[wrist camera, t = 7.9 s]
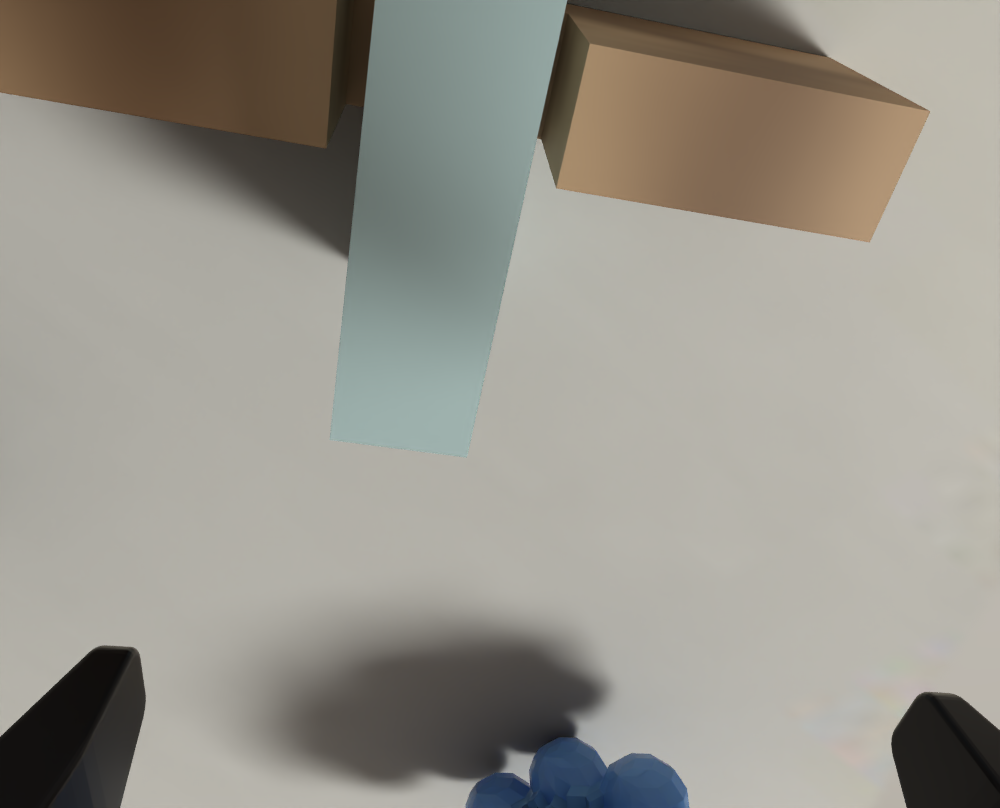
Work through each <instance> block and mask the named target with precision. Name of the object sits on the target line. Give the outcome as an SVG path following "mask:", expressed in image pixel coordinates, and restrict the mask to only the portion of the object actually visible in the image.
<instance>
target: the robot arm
mask: <svg viewBox="0 0 1000 808" xmlns="http://www.w3.org/2000/svg"><path fill="white" fill-rule="evenodd" d="M145 703H146V695H145V687H144V680H143V673H142V666H141V659H140V655H139V652H138V651H137V649H135V648H133V647H123V646H99V647H97V648H95V649H93V650H92V651H90V652H89V653H88V654H87V655H86V656H85V657H84V658H83V659H82V660H81V661H80V662H79V663H78V664H77V665H75V666H74V667H73V668H72V669H71V670H70V671H69V672H68V673H67V674H66V675H65V676H64V677H63V678H62V679H61V680H60V681H59V682H58V683H57V684H55V685H54V686H53V687H52V688H51V689H50V690H49V691H48V692H47V693H46V694H45V695H44V696H43V697H42V698H41V699H40V700H39V701H38V702H36V703H35V704H34V705H33V706H32V707H31V708H30V709H29V710H28V711H27V712H26V713H25V714H24V715H23V716H22V717H21V718H20V719H19V720H18V721H16V722H15V723H14V724H13V725H12V726H11V727H10V728H9V729H8V730H7V731H6V732H5V733H4V734H3V735H2V736H1V737H0V808H120V806H121V802H122V798H123V794H124V790H125V786H126V782H127V778H128V775H129V771H130V767H131V763H132V759H133V755H134V751H135V747H136V744H137V740H138V736H139V732H140V728H141V724H142V720H143V716H144V711H145ZM891 745H892V753H893V758H894V761H895V765H896V769H897V773H898V777H899V780H900V784H901V788H902V792H903V795H904V799H905V803H906V807H907V808H1000V730H999V729H998V728H996V727H995V726H994V725H993V724H992V723H991V722H990V721H988V720H987V719H986V718H985V717H984V716H982V715H981V714H980V713H979V712H978V711H977V710H975V709H974V708H973V707H972V706H971V705H970V704H969V703H967V702H966V701H965V700H963V699H962V698H961V697H959V696H957V695H955V694H951V693H938V692H924V693H921V694H919V695H918V696H917V697H916V698H915V700H914V701H913V703H912V704H911V706H910V707H909V709H908V710H907V712H906V713H905V715H904V716H903V718H902V719H901V721H900V722H899V724H898V725H897V727H896V728H895V730H894V732H893V735H892V742H891Z"/></svg>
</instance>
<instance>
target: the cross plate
mask: <svg viewBox="0 0 1000 808" xmlns="http://www.w3.org/2000/svg"><path fill="white" fill-rule="evenodd" d="M566 4H567V0H375V5H374V15H373V25H372V34H371V44H370V54H369V63H368V73H367V83H366V93H365V102H364V112H363V122H362V131H361V141H360V151H359V161H358V170H357V180H356V190H355V199H354V209H353V219H352V229H351V238H350V248H349V258H348V267H347V277H346V287H345V297H344V306H343V316H342V326H341V335H340V345H339V355H338V365H337V374H336V384H335V394H334V403H333V413H332V423H331V433H330V440H334V441H342V442H350V443H357V444H365V445H373V446H381V447H389V448H396V449H404V450H412V451H420V452H428V453H435V454H443V455H451V456H459V457H467V455H468V450H469V446H470V441H471V437H472V432H473V427H474V423H475V418H476V414H477V409H478V405H479V400H480V396H481V391H482V386H483V382H484V377H485V373H486V368H487V364H488V359H489V355H490V350H491V345H492V341H493V336H494V332H495V327H496V323H497V318H498V314H499V309H500V304H501V300H502V295H503V291H504V286H505V282H506V277H507V273H508V268H509V263H510V259H511V254H512V250H513V245H514V241H515V236H516V232H517V227H518V222H519V218H520V213H521V209H522V204H523V200H524V195H525V191H526V186H527V181H528V177H529V172H530V168H531V163H532V159H533V154H534V150H535V145H536V140H537V136H538V131H539V127H540V122H541V118H542V113H543V109H544V104H545V99H546V95H547V90H548V86H549V81H550V77H551V72H552V68H553V63H554V58H555V54H556V49H557V45H558V40H559V36H560V31H561V27H562V22H563V17H564V13H565V8H566Z"/></svg>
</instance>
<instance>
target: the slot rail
mask: <svg viewBox="0 0 1000 808" xmlns="http://www.w3.org/2000/svg"><path fill="white" fill-rule="evenodd" d="M374 5H375V0H0V92H1V93H7V94H13V95H19V96H24V97H30V98H36V99H42V100H48V101H53V102H59V103H65V104H71V105H77V106H82V107H88V108H94V109H100V110H106V111H111V112H117V113H123V114H129V115H135V116H140V117H146V118H152V119H158V120H164V121H169V122H175V123H181V124H187V125H193V126H198V127H204V128H210V129H216V130H222V131H227V132H233V133H239V134H245V135H251V136H256V137H262V138H268V139H274V140H280V141H285V142H291V143H297V144H303V145H309V146H314V147H320V148H327V145H328V143H329V141H330V139H331V136H332V134H333V132H334V129H335V127H336V125H337V123H338V120H339V118H340V116H341V114H342V111H343V109H344V107H345V105H346V104H349V105H354V106H360V107H364V102H365V93H366V83H367V73H368V63H369V54H370V44H371V34H372V25H373V15H374ZM929 113H930V111H929V110H927V109H925V108H923V107H921V106H919V105H917V104H916V103H914V102H912V101H910V100H908V99H906V98H904V97H902V96H901V95H899V94H897V93H895V92H893V91H891V90H889V89H887V88H886V87H884V86H882V85H880V84H878V83H876V82H874V81H873V80H871V79H869V78H867V77H865V76H863V75H861V74H859V73H858V72H856V71H854V70H852V69H850V68H848V67H846V66H844V65H843V64H841V63H839V62H837V61H835V60H833V59H831V58H829V57H824V56H819V55H815V54H810V53H805V52H800V51H795V50H790V49H785V48H781V47H776V46H771V45H766V44H761V43H756V42H751V41H747V40H742V39H737V38H732V37H727V36H722V35H717V34H712V33H708V32H703V31H698V30H693V29H688V28H683V27H678V26H674V25H669V24H664V23H659V22H654V21H649V20H644V19H640V18H635V17H630V16H625V15H620V14H615V13H610V12H606V11H601V10H596V9H591V8H586V7H581V6H576V5H571V4H566V8H565V13H564V17H563V22H562V27H561V31H560V36H559V40H558V45H557V49H556V54H555V58H554V63H553V68H552V72H551V77H550V81H549V86H548V90H547V95H546V99H545V104H544V109H543V113H542V118H541V122H540V127H539V131H538V136H537V139H541V140H542V143H543V146H544V150H545V153H546V156H547V159H548V163H549V166H550V169H551V172H552V176H553V179H554V182H555V185H556V188H558V189H564V190H570V191H575V192H581V193H587V194H593V195H599V196H604V197H610V198H616V199H622V200H628V201H633V202H639V203H645V204H651V205H657V206H662V207H668V208H674V209H680V210H686V211H691V212H697V213H703V214H709V215H715V216H720V217H726V218H732V219H738V220H744V221H749V222H755V223H761V224H767V225H773V226H778V227H784V228H790V229H796V230H802V231H807V232H813V233H819V234H825V235H831V236H836V237H842V238H848V239H854V240H860V241H865V242H870V240H871V238H872V236H873V234H874V232H875V230H876V227H877V225H878V223H879V221H880V219H881V217H882V215H883V212H884V210H885V208H886V206H887V204H888V202H889V199H890V197H891V195H892V193H893V191H894V189H895V187H896V184H897V182H898V180H899V178H900V176H901V174H902V171H903V169H904V167H905V165H906V163H907V161H908V158H909V156H910V154H911V152H912V150H913V148H914V146H915V143H916V141H917V139H918V137H919V135H920V133H921V130H922V128H923V126H924V124H925V122H926V120H927V118H928V115H929Z"/></svg>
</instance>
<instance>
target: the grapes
mask: <svg viewBox="0 0 1000 808" xmlns="http://www.w3.org/2000/svg"><path fill="white" fill-rule="evenodd" d="M529 775H530V785H529V783H528V782H526V781H524V780H523V779H521V778H520V777H518V776H516V775H515V774H513V773H494V774H492V775H490V776H488V777H486V778H484V779H482V780H481V781H479V782H478V783H476V785H475V786H474V788H473V789H472V790H471V792H470V794H469V797H468V800H467V802H466V808H689V802H688V793H687V788H686V787H685V785H684V784H683V782H682V781H681V779H680V778H679V776H678V775H677V773H676V772H675V770H674V769H673V768H672V767H671V766H669V765H668V764H666V763H665V762H663V761H661V760H659V759H658V758H656V757H654V756H652V755H651V754H636V753H631V754H629V755H627V756H625V757H623V758H621V759H619V760H617V761H616V762H614V763H612V764H610V765H609V767H608V769H607V767H606V766H605V764H604V763H603V761H602V759H601V758H600V756H599V755H598V753H597V752H596V750H595V749H594V748H593V747H591V746H590V745H588V744H586V743H584V742H583V741H581V740H579V739H578V738H565V737H559V738H557V739H555V740H553V741H551V742H549V743H547V744H545V745H544V746H542V747H541V748H539V750H538V751H537V753H536V755H535V756H534V758H533V761H532V764H531V766H530V769H529Z"/></svg>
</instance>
